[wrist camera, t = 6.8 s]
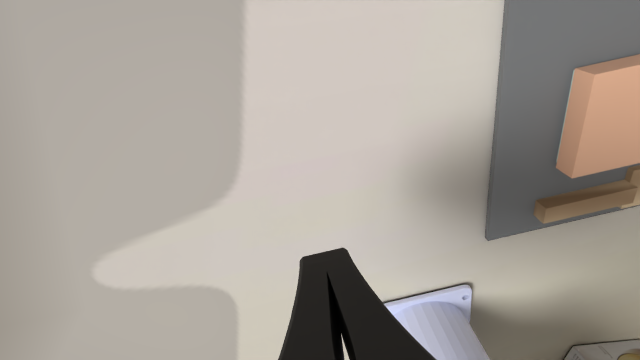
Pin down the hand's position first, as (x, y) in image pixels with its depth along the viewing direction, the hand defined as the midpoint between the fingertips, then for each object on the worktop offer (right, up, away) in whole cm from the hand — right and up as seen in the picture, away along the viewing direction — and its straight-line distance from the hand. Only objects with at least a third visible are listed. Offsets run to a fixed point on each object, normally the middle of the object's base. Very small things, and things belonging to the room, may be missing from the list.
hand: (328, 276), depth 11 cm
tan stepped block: (+19, +2, +13) cm, 23 cm away
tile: (+14, +6, +9) cm, 17 cm away
